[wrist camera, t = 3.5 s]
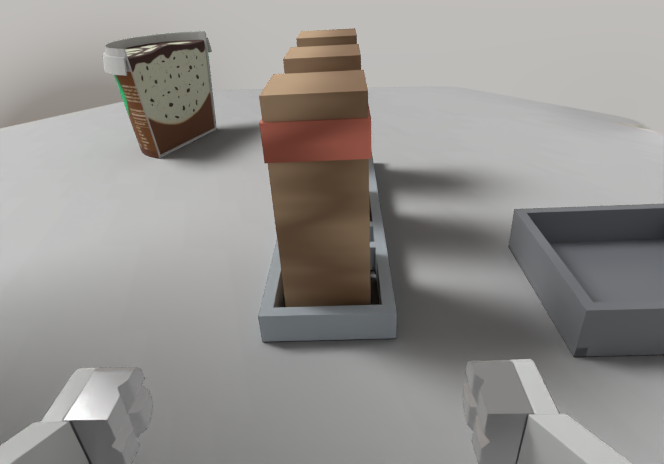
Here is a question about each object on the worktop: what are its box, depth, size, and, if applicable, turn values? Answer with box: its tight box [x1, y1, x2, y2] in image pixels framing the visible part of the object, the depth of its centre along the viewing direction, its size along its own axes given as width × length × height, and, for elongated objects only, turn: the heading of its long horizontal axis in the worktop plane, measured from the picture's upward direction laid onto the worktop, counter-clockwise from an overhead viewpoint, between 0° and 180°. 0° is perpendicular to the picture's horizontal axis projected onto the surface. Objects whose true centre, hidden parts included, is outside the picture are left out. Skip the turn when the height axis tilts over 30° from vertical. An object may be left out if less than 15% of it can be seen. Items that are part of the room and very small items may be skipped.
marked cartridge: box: [259, 70, 371, 307], centre depth 22 cm, size 4×4×11 cm
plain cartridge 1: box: [297, 28, 357, 47], centre depth 35 cm, size 4×4×11 cm
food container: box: [103, 31, 217, 158], centre depth 47 cm, size 12×6×10 cm, turn 157°
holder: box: [258, 151, 397, 342], centre depth 31 cm, size 6×22×2 cm, turn 179°
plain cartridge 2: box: [283, 44, 361, 74], centre depth 29 cm, size 4×4×11 cm
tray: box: [509, 204, 664, 357], centre depth 23 cm, size 9×9×2 cm
